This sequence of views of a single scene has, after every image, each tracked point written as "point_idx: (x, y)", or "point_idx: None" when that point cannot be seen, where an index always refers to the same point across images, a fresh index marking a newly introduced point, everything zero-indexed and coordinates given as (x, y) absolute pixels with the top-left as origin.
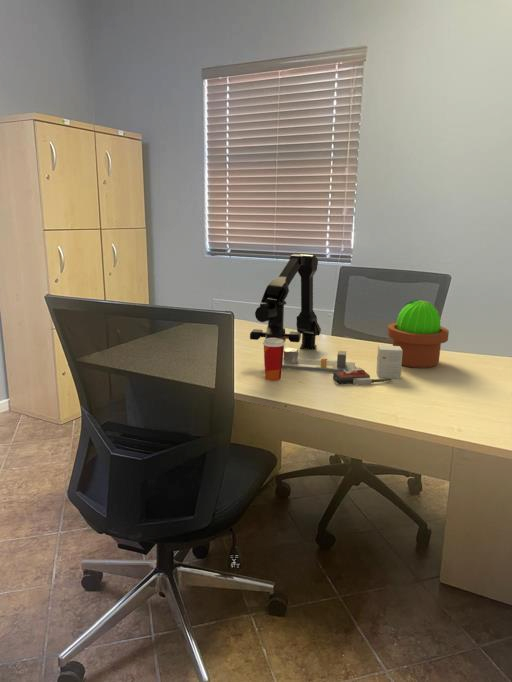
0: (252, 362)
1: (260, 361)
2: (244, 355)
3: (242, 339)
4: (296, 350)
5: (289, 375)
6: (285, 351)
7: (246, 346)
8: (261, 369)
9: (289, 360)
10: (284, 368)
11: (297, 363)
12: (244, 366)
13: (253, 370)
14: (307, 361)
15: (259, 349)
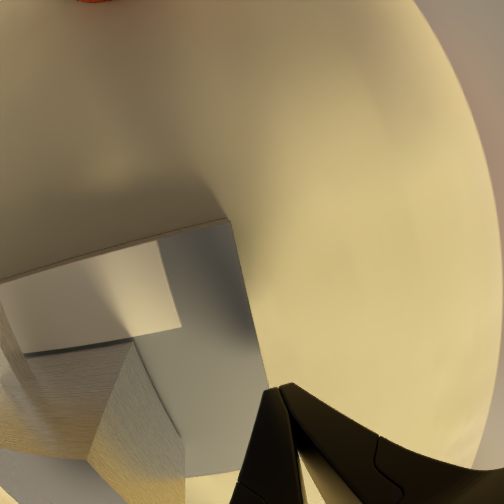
0: (448, 285)
1: (402, 345)
2: (482, 377)
3: None
4: (7, 489)
5: (9, 86)
6: (62, 455)
7: (459, 462)
8: (325, 111)
9: (61, 368)
10: (96, 251)
11: None
12: (465, 155)
13: (374, 64)
14: None
15: None
